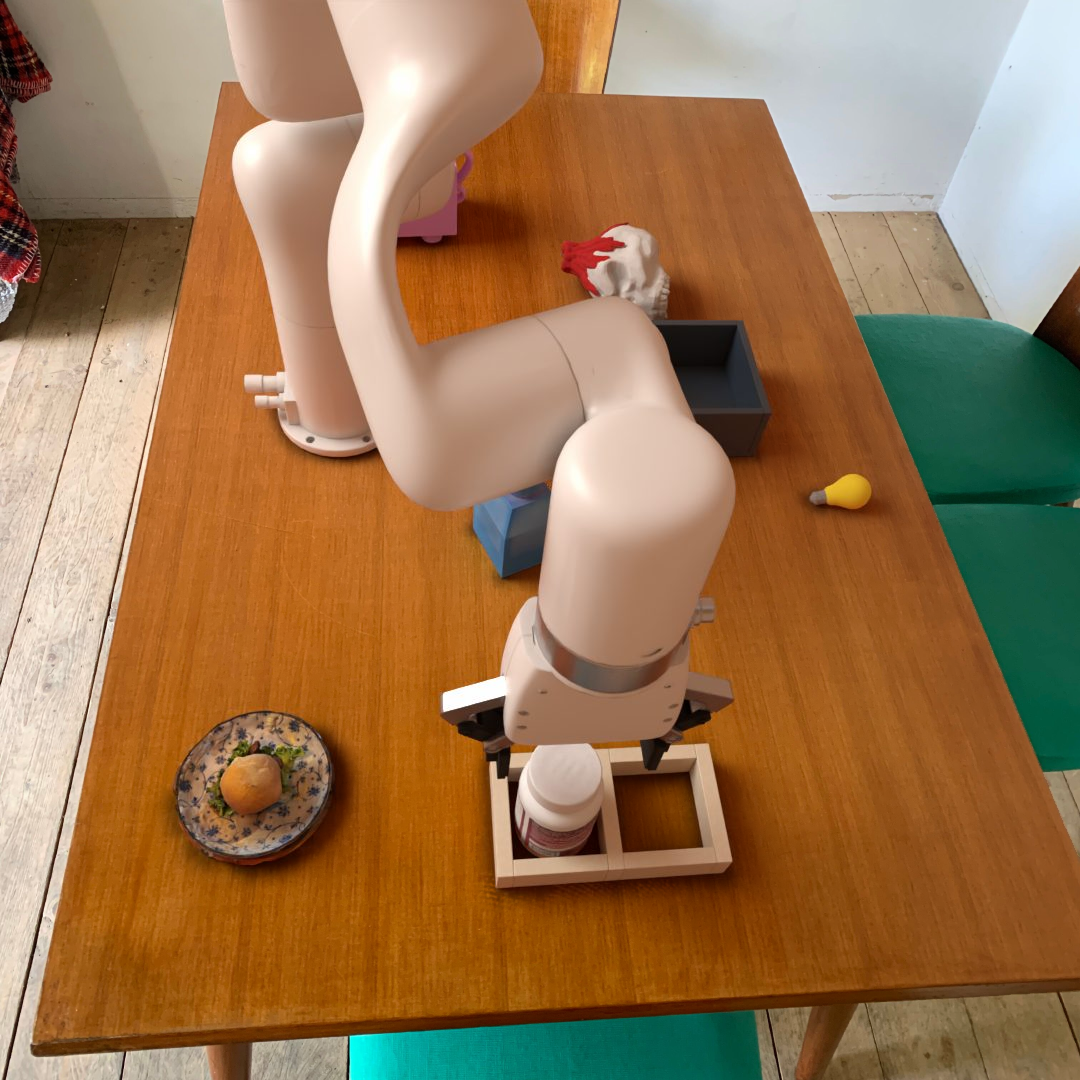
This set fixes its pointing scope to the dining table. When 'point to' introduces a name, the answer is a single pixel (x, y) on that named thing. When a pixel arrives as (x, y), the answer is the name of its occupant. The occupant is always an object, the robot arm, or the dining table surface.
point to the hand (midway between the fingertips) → (574, 753)
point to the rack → (617, 826)
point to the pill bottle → (558, 799)
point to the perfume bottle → (514, 528)
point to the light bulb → (844, 492)
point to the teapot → (441, 211)
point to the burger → (254, 787)
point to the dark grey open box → (719, 380)
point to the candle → (621, 267)
